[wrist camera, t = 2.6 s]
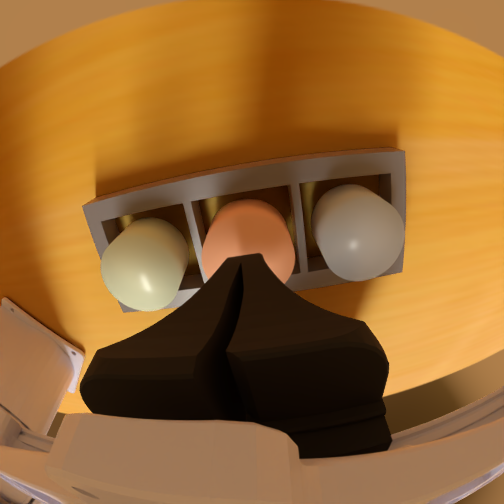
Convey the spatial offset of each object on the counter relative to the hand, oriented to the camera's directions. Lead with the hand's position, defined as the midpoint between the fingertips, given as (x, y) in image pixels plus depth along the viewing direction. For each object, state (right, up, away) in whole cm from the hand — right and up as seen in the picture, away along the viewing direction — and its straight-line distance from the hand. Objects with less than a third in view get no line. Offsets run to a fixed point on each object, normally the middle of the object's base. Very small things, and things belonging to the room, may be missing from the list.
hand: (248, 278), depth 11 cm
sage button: (-5, +1, +4) cm, 7 cm away
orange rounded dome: (0, +2, +4) cm, 4 cm away
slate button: (+5, +3, +3) cm, 7 cm away
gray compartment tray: (0, +2, +5) cm, 5 cm away
